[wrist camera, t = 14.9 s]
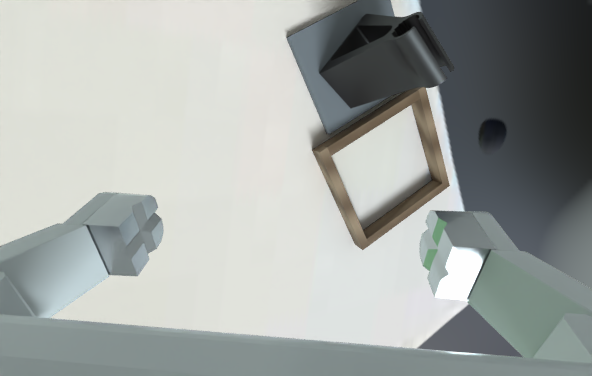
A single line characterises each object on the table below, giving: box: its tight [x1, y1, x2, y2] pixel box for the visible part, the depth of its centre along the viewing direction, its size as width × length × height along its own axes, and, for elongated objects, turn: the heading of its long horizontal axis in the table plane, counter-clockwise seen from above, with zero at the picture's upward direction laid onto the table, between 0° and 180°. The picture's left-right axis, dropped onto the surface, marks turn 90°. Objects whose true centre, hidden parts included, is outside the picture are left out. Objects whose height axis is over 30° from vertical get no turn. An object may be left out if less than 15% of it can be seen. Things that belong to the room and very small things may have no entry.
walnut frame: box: [312, 87, 450, 250], centre depth 43 cm, size 16×17×2 cm
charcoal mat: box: [287, 0, 395, 134], centre depth 37 cm, size 12×14×1 cm
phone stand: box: [319, 12, 454, 108], centre depth 32 cm, size 9×6×12 cm, turn 137°
